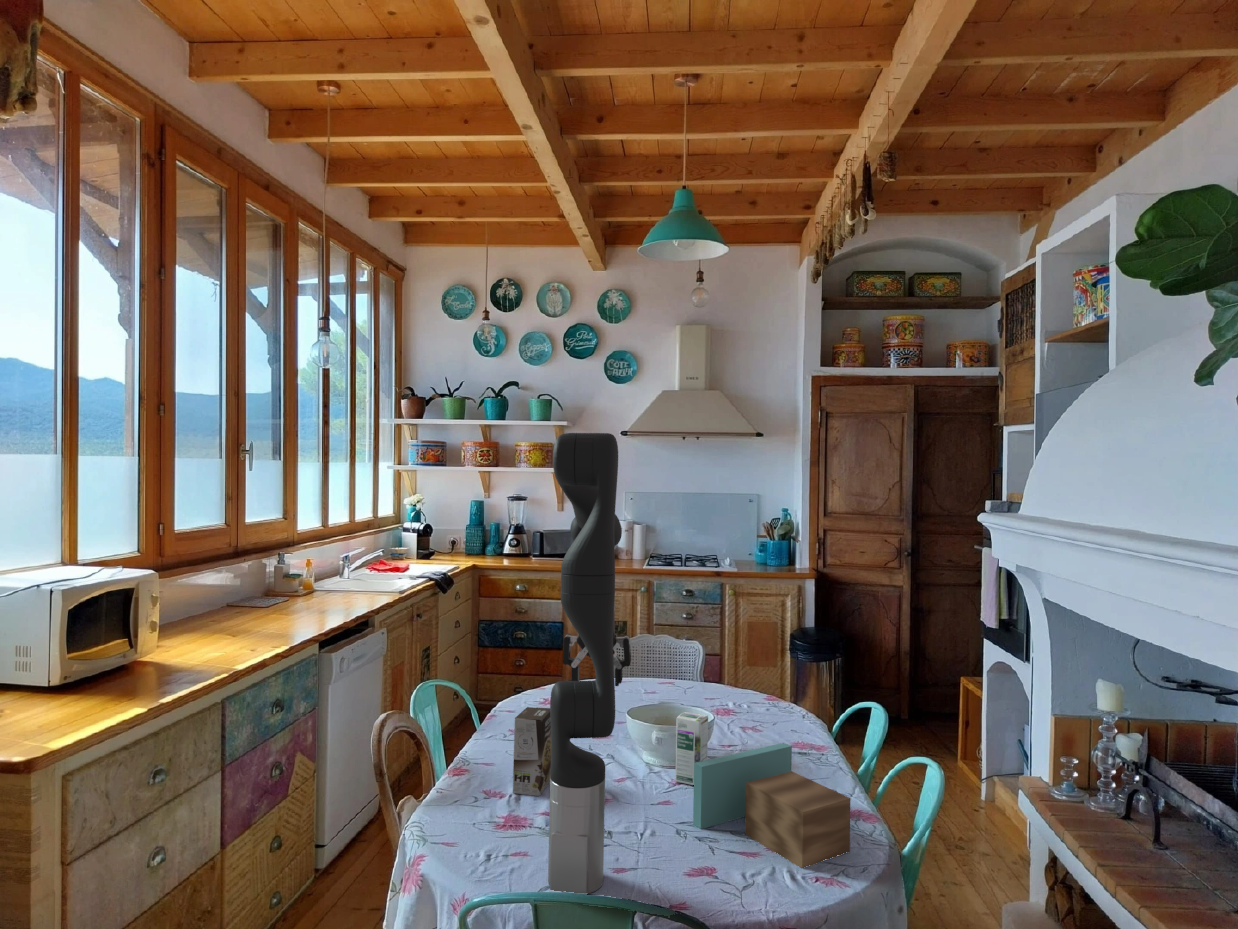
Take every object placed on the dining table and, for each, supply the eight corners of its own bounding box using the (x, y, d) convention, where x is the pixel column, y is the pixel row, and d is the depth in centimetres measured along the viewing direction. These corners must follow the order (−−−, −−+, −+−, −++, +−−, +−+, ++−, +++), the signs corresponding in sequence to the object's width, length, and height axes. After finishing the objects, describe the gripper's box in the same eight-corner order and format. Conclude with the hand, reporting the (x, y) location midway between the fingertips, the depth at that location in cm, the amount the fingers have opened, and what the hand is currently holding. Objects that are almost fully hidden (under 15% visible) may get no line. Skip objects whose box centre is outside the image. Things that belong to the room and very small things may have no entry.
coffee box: (540, 796, 164) (542, 720, 164) (511, 793, 165) (513, 717, 166) (552, 780, 173) (554, 707, 173) (525, 777, 174) (526, 705, 175)
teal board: (790, 803, 163) (791, 746, 163) (700, 829, 150) (701, 766, 150) (782, 799, 165) (783, 742, 165) (693, 824, 152) (694, 762, 152)
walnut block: (849, 853, 142) (850, 798, 142) (802, 869, 136) (803, 812, 136) (791, 821, 155) (791, 771, 155) (745, 835, 148) (745, 782, 149)
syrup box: (674, 782, 173) (675, 717, 174) (684, 773, 179) (685, 710, 179) (698, 787, 171) (699, 721, 171) (707, 778, 176) (708, 714, 176)
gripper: (560, 613, 160) (560, 690, 161) (629, 614, 158) (629, 692, 160) (565, 603, 167) (566, 677, 168) (631, 605, 166) (632, 679, 167)
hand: (597, 684), depth 164 cm, fingers open, 8 cm apart
